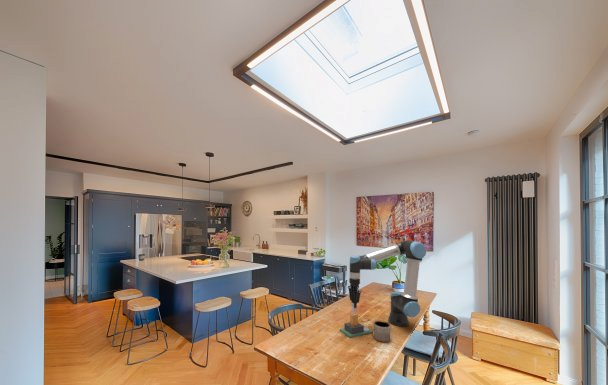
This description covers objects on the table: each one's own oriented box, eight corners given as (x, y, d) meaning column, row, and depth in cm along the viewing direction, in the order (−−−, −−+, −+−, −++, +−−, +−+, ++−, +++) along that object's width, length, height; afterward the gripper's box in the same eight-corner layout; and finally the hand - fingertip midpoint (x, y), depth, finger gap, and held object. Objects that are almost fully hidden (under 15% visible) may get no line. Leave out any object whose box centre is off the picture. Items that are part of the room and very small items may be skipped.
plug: (355, 328, 182) (355, 313, 183) (357, 329, 180) (357, 314, 181) (350, 329, 180) (350, 314, 181) (352, 330, 178) (352, 315, 179)
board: (361, 326, 190) (362, 319, 191) (372, 333, 180) (372, 325, 180) (339, 330, 182) (339, 323, 182) (349, 338, 171) (349, 329, 172)
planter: (379, 343, 165) (379, 328, 166) (370, 335, 175) (370, 321, 176) (393, 341, 168) (393, 326, 169) (384, 334, 178) (384, 320, 179)
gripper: (345, 276, 188) (344, 309, 185) (356, 280, 176) (355, 316, 174) (353, 275, 191) (352, 308, 189) (364, 279, 179) (364, 314, 177)
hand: (354, 311), depth 181 cm, fingers closed
